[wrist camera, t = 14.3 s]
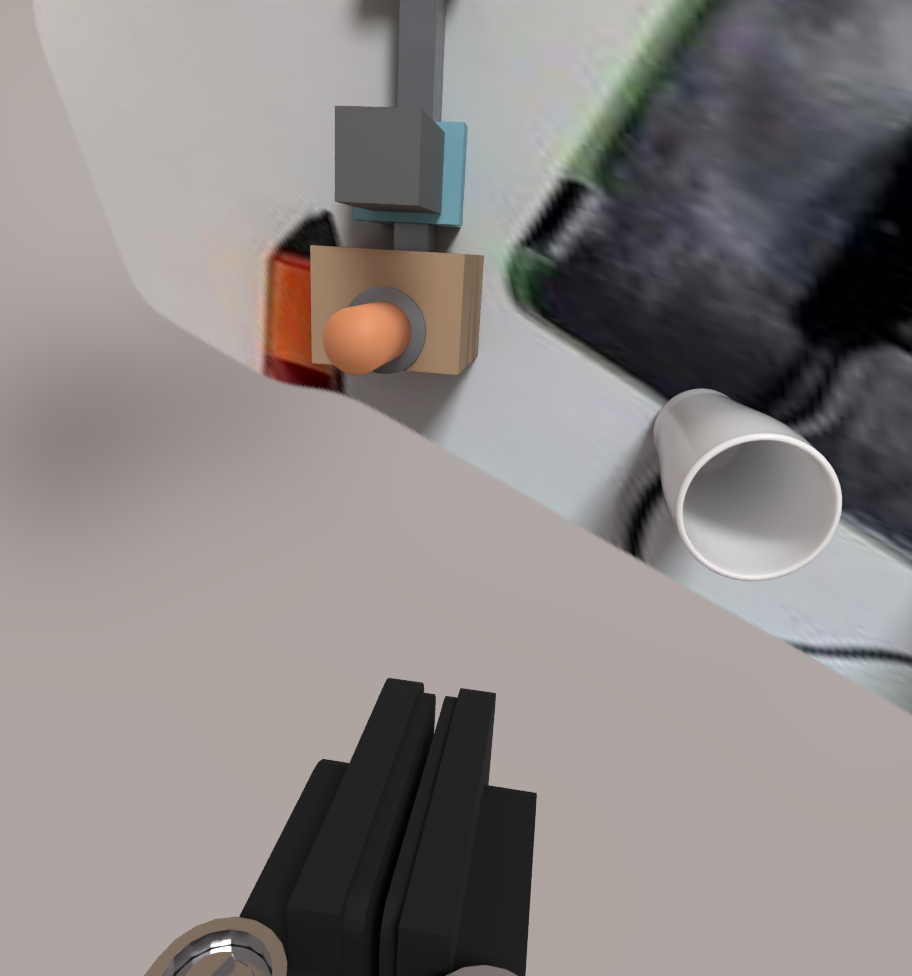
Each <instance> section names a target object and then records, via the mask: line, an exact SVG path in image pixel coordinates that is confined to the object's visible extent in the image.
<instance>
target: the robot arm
mask: <svg viewBox="0 0 912 976" xmlns="http://www.w3.org/2000/svg"><path fill="white" fill-rule="evenodd" d="M495 701H496V693H491V692H484V691H477V690H470V689H463V688H462V689H460V691H459V695H458V698H456V697H449V696H446V697H445V699H444V702H443V705H442V709H441V712H440V716H439V719H438V723H437V726H436V730H435V733H434V723H435V705H436V697H435V694H429V693H424V684H423V683H420V682H413V681H407V680H400V679H392V678H388V679H387V680H386V682H385V684H384V686H383V688H382V691H381V693H380V695H379V697H378V700H377V702H376V705H375V707H374V709H373V711H372V713H371V716H370V718H369V720H368V722H367V725H366V727H365V730H364V731H363V734H362V736H361V738H360V741H359V743H358V745H357V747H356V750H355V752H354V754H353V756H352V759H351V761H350V763H345V762H339V761H332V760H326V759H322V760H321V761H319V762H318V764H317V765H316V767H315V769H314V770H313V772H312V774H311V776H310V778H309V780H308V782H307V784H306V786H305V788H304V790H303V792H302V794H301V796H300V798H299V800H298V802H297V804H296V806H295V808H294V810H293V812H292V814H291V816H290V818H289V819H288V821H287V824H286V826H285V828H284V829H283V831H282V833H281V836H280V837H279V839H278V841H277V843H276V845H275V847H274V849H273V851H272V853H271V855H270V857H269V859H268V861H267V863H266V865H265V867H264V869H263V871H262V873H261V875H260V877H259V879H258V881H257V883H256V885H255V887H254V889H253V891H252V893H251V895H250V897H249V898H248V901H247V903H246V904H245V907H244V908H243V910H242V912H241V914H240V917H230V918H221V919H215V920H212V921H209V922H207V923H204V924H201V925H198V926H196V927H194V928H192V929H191V930H189V931H188V932H186V933H185V934H183V935H182V936H180V937H179V938H177V939H176V940H174V941H173V942H172V943H171V945H170V946H169V947H168V948H167V949H166V950H165V951H164V952H163V953H162V954H161V955H160V956H159V957H158V958H157V960H156V961H155V962H154V963H153V965H152V966H151V967H150V969H149V970H148V971H147V973H146V974H145V975H144V976H525V971H526V957H527V940H528V925H529V910H530V894H531V877H532V862H533V845H534V830H535V815H536V797H537V795H536V793H532V792H526V791H520V790H514V789H507V788H501V787H495V786H489V785H488V782H489V771H490V760H491V748H492V736H493V724H494V713H495Z"/></svg>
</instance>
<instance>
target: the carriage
mask: <svg viewBox="0 0 912 976" xmlns="http://www.w3.org/2000/svg"><path fill="white" fill-rule="evenodd" d="M466 145H467V125H466V124H465V123H464V122H435V121H433V120H432V119H431V117H430V116H429V115H428V114H427V113H426V112H425V111H424V110H423V109H422V108H393V107H359V106H335V201H336V202H339V203H343V204H347V205H351V206H353V219H354V220H359V221H370V222H375V223H380V224H394V222H397V223H416V224H433V225H437V226H440V227H455V228H461V226H462V219H463V200H464V182H465V163H466Z"/></svg>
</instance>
